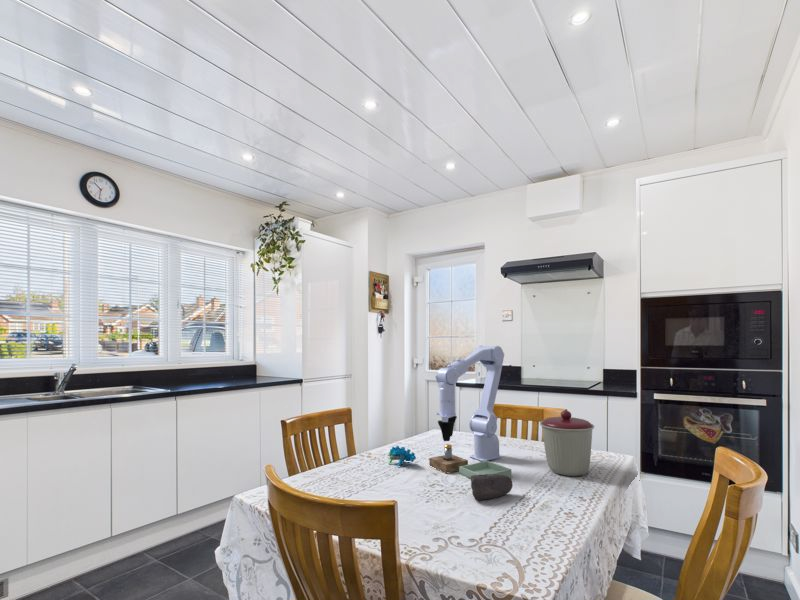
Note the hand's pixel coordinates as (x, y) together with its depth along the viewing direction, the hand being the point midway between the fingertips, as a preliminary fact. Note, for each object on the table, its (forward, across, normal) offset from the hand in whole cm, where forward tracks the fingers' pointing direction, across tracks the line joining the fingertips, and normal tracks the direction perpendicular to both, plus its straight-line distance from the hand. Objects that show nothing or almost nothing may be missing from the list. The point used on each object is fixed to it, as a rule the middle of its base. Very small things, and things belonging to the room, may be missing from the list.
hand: (447, 438), depth 160 cm
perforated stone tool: (+11, +26, +16) cm, 33 cm away
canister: (+11, -4, +42) cm, 43 cm away
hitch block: (+10, 0, 0) cm, 10 cm away
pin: (+10, 0, 0) cm, 10 cm away
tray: (+10, +6, +13) cm, 18 cm away
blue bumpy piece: (+11, 0, -18) cm, 21 cm away
